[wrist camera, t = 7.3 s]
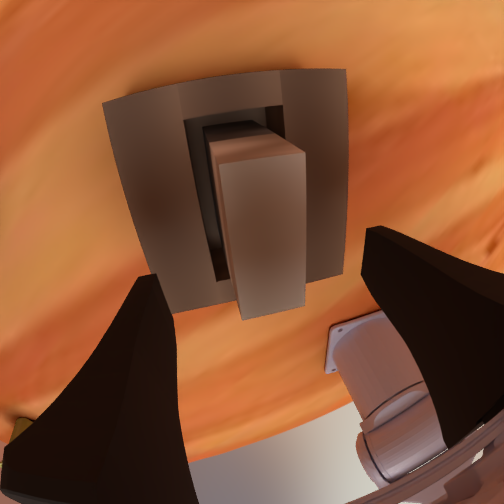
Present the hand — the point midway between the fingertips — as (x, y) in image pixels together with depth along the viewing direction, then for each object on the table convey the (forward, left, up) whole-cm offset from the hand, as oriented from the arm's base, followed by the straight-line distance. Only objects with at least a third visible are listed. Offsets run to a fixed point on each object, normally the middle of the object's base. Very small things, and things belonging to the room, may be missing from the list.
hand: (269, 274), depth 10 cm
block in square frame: (0, -1, -9) cm, 9 cm away
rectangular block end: (0, -1, -7) cm, 7 cm away
